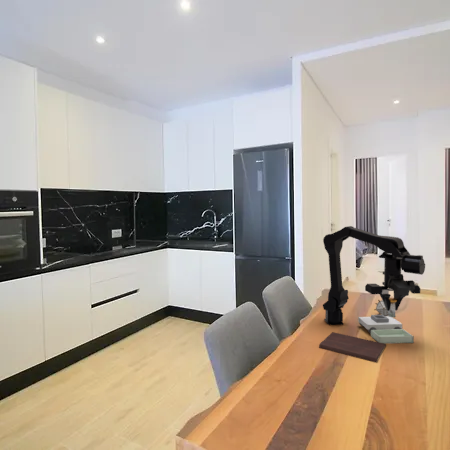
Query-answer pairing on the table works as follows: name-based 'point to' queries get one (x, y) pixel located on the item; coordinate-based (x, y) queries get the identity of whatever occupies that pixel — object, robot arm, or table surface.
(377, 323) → the white socket plate
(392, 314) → the pin
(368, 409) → the table surface
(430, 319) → the table surface
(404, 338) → the tray
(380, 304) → the game die
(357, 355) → the notebook
